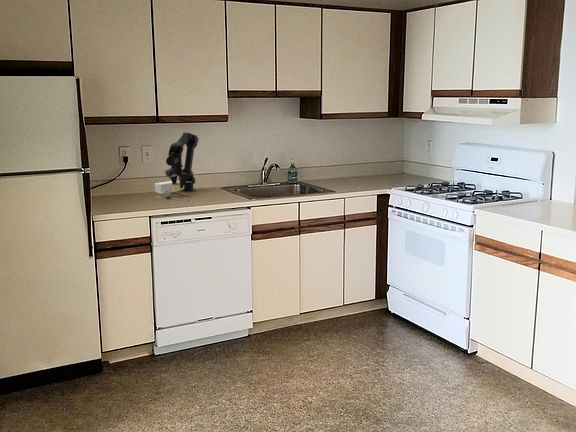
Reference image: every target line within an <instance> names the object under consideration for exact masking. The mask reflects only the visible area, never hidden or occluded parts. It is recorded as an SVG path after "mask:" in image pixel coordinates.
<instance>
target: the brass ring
mask: <svg viewBox="0 0 576 432" xmlns="http://www.w3.org/2000/svg"><path fill="white" fill-rule="evenodd" d="M172 189H174V190H180V189H181V186H180V183H174V184H172ZM183 189H184V186H183V188H182V190H183ZM180 191H181V190H180Z"/></svg>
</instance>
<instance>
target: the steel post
mask: <svg viewBox="0 0 576 432" xmlns="http://www.w3.org/2000/svg"><path fill="white" fill-rule="evenodd" d="M171 194H172V192H171V191H170V190H166V191H165V193H164V195H165V196H166V199H171ZM166 199H165V200H166Z"/></svg>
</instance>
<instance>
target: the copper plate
mask: <svg viewBox="0 0 576 432" xmlns="http://www.w3.org/2000/svg"><path fill="white" fill-rule="evenodd" d="M190 197H191V198H192V197H194V195H193V194H187V193H182V192H176V193H171V199H166V196H165V194H163V195H158V196H156V198H158V199H162V200H167V201H171V200H172V201H173V200H180V199H185V198H190Z"/></svg>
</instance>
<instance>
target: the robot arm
mask: <svg viewBox="0 0 576 432" xmlns="http://www.w3.org/2000/svg"><path fill="white" fill-rule="evenodd" d="M198 142H199V137H198V136H197V135H195V134H193V133H191V132H183V133H182V135H181V136H180V138H179V139H178V140H177V141H176V142H173V143H172V144H171V145H170V147H169V150H168V154H167V155H168V157H166V158H165V163H166V164H167V166H170V168H168V169H167V170H165V171H164V173H165V176H166V177H167V178H169V179H170V181H172V184H174V183H176V182H177V181H180V186H181V189H182V188H183V186H184V189H182V192H186V193H187V192H193V191H194V184H196V178H195V176H194V172H193V170H192V167H193V160H194V154H195V153H194V151H195V149H196V147H197V146H198ZM184 146H186V152H185V158H184V159H185V161H184V165H183V162H182V157H183V151H184Z"/></svg>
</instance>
